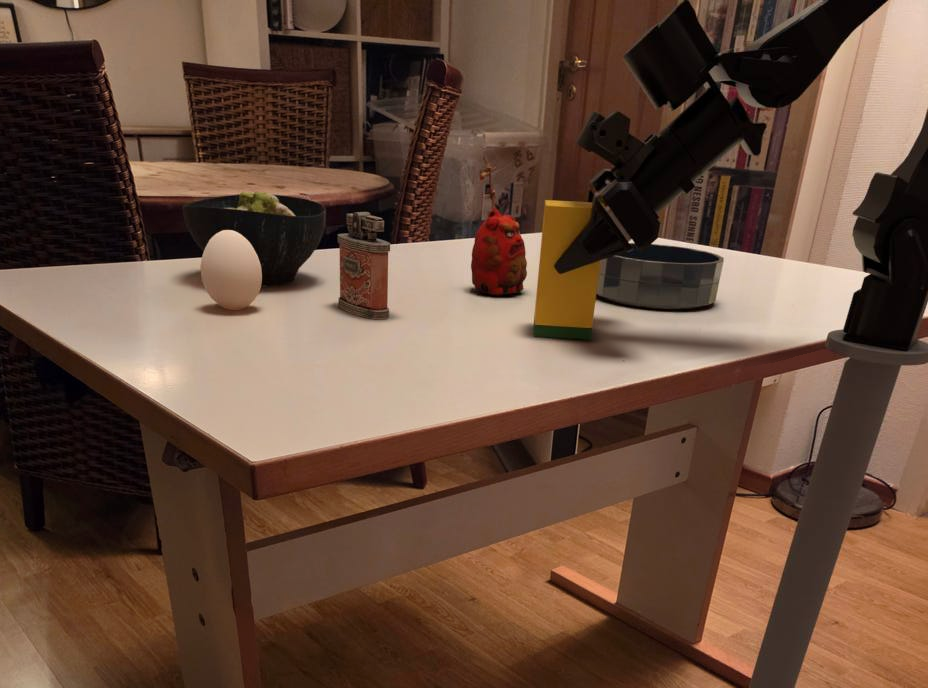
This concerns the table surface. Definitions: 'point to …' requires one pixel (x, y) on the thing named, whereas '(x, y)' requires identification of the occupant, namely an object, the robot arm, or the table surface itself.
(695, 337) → the table surface
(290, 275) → the bowl
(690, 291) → the slate bowl
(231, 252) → the egg
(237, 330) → the table surface
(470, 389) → the table surface
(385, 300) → the lighter
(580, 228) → the sponge
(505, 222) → the red clay folk toy
